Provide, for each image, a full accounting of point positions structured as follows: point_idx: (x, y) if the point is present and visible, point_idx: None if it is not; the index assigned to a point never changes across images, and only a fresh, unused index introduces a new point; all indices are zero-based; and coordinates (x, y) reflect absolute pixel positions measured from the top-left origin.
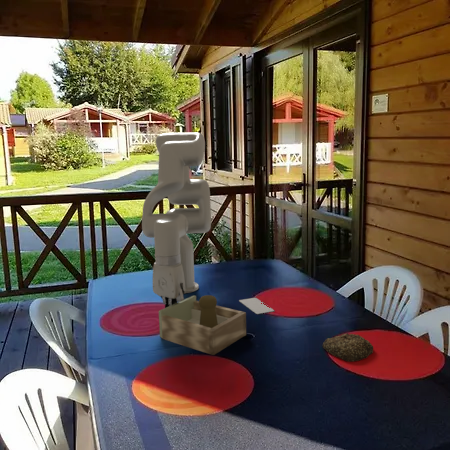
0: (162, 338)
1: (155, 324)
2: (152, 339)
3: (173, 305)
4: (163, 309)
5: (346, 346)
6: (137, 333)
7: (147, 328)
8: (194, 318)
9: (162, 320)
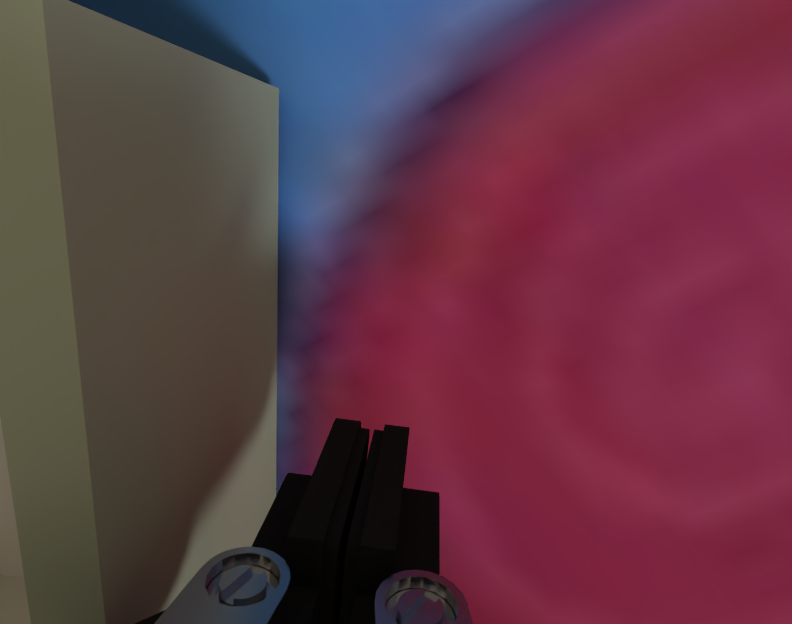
0: None
1: (593, 380)
2: (338, 7)
3: (46, 518)
4: (23, 172)
5: None
6: (639, 53)
7: (612, 245)
8: None
9: None
